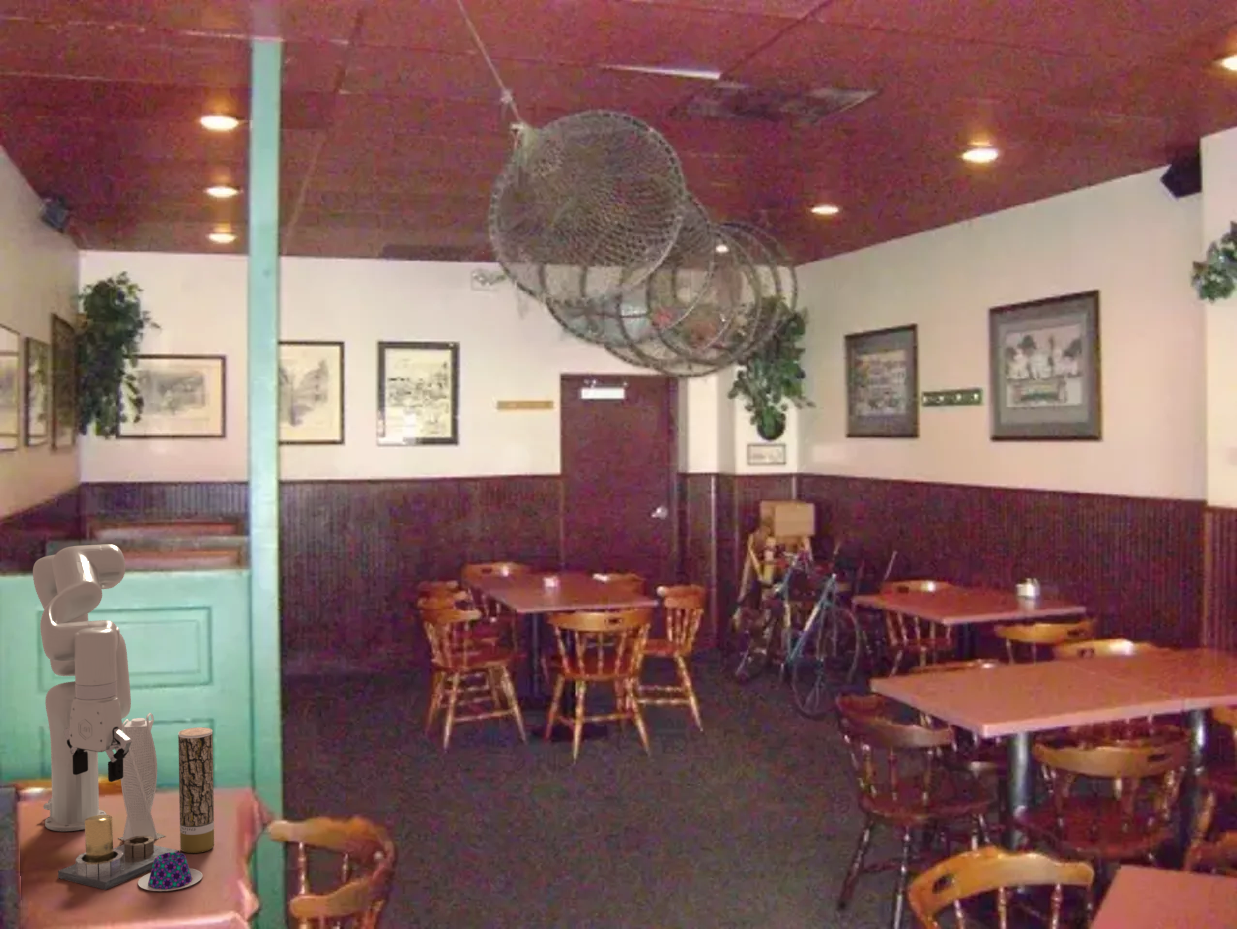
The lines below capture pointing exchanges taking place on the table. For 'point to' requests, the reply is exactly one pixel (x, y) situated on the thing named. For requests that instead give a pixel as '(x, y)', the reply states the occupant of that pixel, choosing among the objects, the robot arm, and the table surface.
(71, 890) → the table surface
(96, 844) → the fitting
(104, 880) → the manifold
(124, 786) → the skyscraper
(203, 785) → the paper tube
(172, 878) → the pudding
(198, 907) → the table surface
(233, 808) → the table surface
